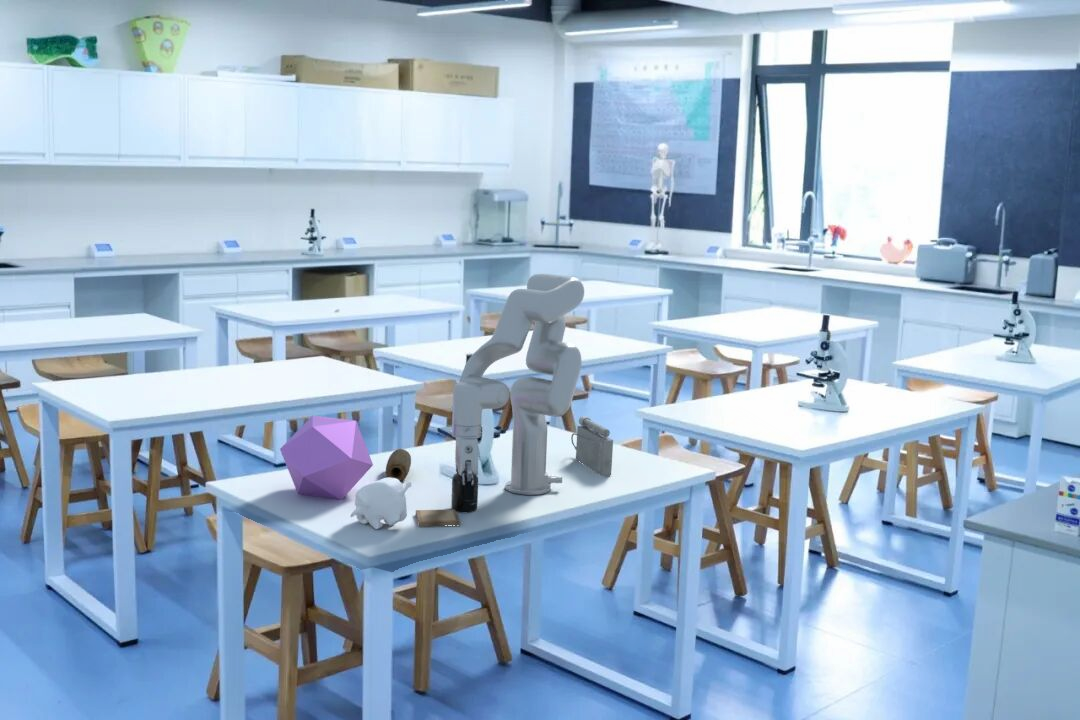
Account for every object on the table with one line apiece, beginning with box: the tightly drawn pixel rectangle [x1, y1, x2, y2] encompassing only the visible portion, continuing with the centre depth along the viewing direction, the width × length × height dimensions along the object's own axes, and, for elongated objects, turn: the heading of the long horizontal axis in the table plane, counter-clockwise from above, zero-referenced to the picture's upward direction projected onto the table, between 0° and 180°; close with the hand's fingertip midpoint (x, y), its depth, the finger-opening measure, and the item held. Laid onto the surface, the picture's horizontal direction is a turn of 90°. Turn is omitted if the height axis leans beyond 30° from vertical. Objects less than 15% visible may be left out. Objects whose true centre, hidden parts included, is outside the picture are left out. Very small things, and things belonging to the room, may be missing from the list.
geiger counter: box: [570, 415, 614, 477], centre depth 345 cm, size 14×6×25 cm
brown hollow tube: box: [385, 448, 412, 481], centre depth 326 cm, size 15×7×7 cm, turn 6°
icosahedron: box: [279, 415, 374, 501], centre depth 306 cm, size 22×21×25 cm
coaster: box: [415, 508, 461, 528], centre depth 288 cm, size 10×10×1 cm
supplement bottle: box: [450, 464, 479, 513], centre depth 297 cm, size 7×7×12 cm
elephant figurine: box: [349, 477, 412, 530], centre depth 281 cm, size 12×18×12 cm
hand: (464, 494), depth 297 cm, fingers open, 9 cm apart
